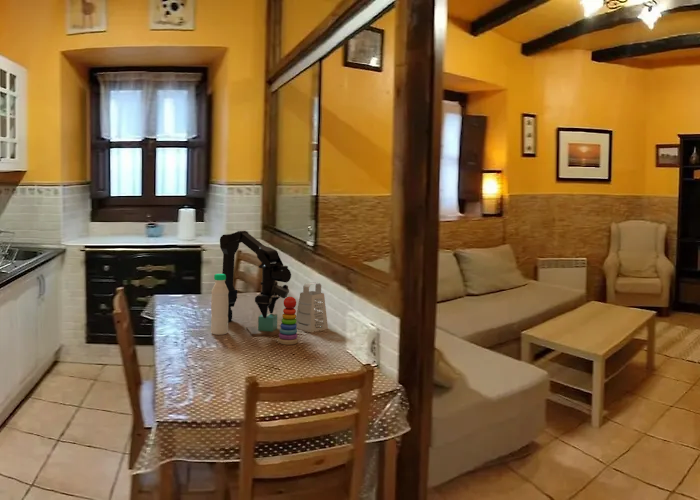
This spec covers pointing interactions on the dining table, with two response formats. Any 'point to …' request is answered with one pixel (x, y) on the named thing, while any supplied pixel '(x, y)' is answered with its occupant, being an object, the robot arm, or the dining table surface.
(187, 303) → the dining table surface
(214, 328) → the water bottle
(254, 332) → the keyed post base
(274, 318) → the teal drawer cube
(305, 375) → the dining table surface
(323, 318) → the grater
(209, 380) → the dining table surface
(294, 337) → the stacking toy
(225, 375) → the dining table surface
